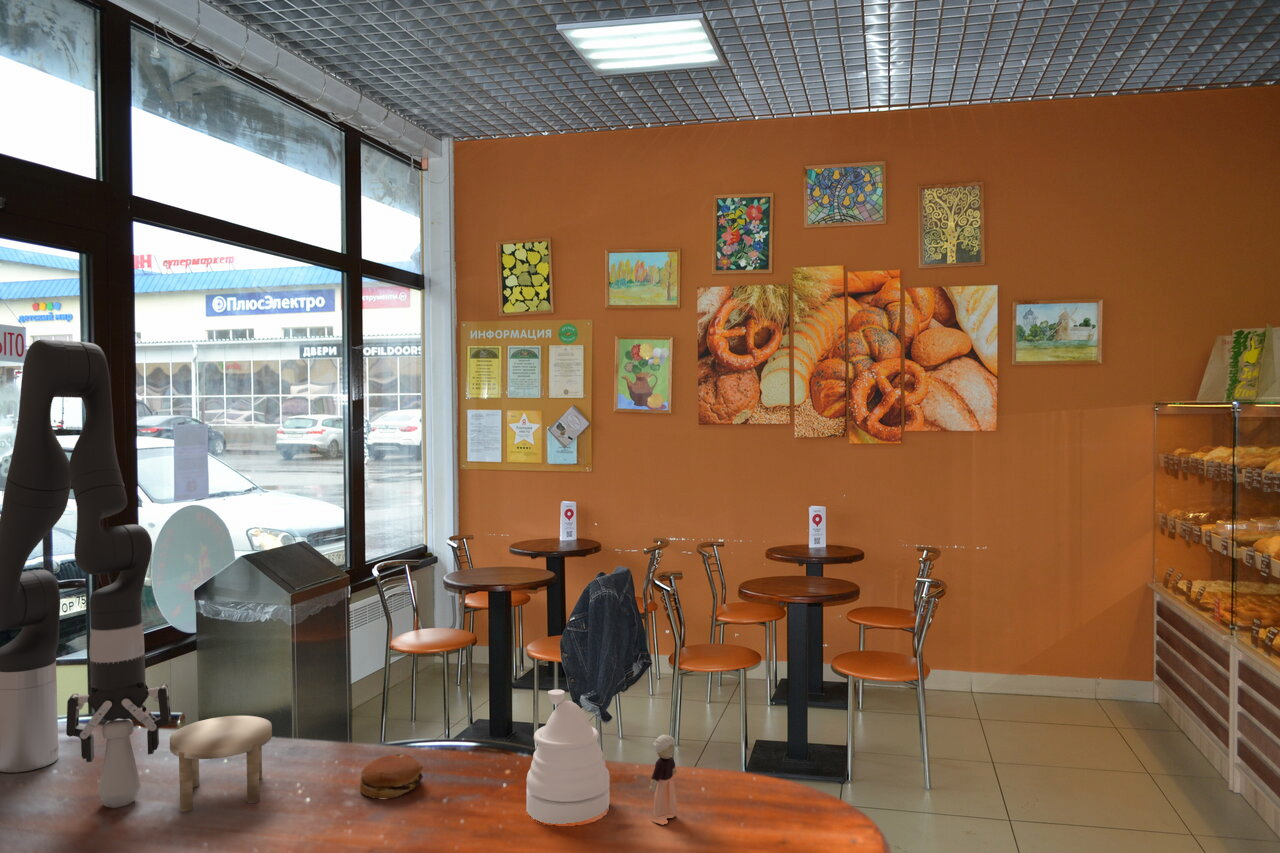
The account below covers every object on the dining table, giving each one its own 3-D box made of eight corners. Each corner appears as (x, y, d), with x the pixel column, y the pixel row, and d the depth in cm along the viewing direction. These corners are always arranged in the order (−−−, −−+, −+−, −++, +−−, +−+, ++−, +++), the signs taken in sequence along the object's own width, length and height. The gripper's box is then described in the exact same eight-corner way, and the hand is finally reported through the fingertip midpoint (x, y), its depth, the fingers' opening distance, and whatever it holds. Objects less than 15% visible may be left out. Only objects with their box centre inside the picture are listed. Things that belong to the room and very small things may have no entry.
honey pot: (511, 819, 146) (511, 701, 145) (548, 786, 158) (548, 677, 157) (590, 832, 142) (589, 711, 141) (622, 797, 154) (621, 685, 153)
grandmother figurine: (670, 830, 142) (670, 745, 142) (645, 826, 143) (645, 742, 143) (683, 808, 150) (683, 727, 149) (659, 805, 151) (659, 724, 150)
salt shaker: (148, 795, 154) (146, 715, 154) (125, 811, 149) (124, 727, 148) (114, 793, 155) (112, 713, 155) (90, 809, 149) (88, 726, 149)
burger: (356, 802, 152) (356, 773, 152) (365, 779, 161) (364, 751, 161) (420, 799, 153) (420, 770, 153) (425, 776, 163) (425, 748, 163)
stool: (164, 819, 146) (163, 754, 145) (177, 781, 160) (176, 721, 160) (271, 805, 151) (270, 742, 150) (274, 769, 165) (273, 711, 164)
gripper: (170, 643, 157) (174, 742, 157) (71, 652, 152) (74, 754, 153) (164, 655, 150) (168, 758, 150) (59, 665, 145) (63, 771, 146)
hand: (120, 756), depth 152 cm, fingers open, 8 cm apart
